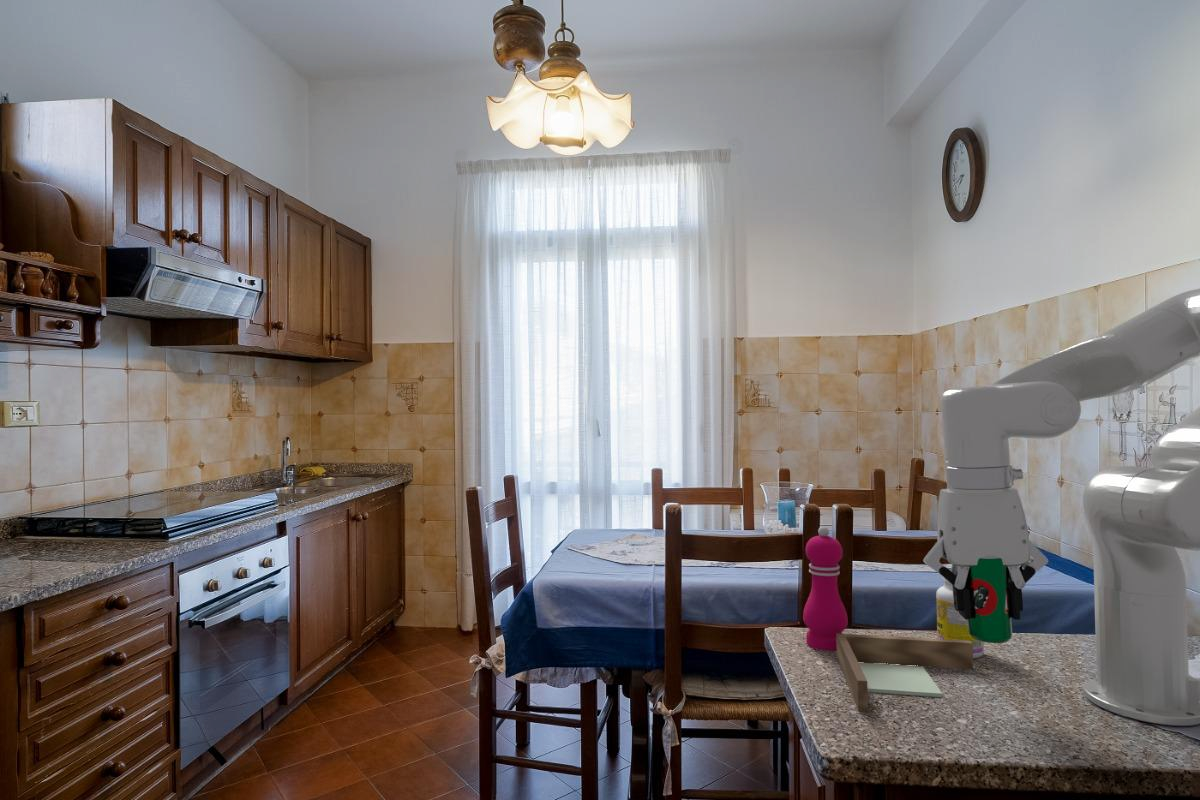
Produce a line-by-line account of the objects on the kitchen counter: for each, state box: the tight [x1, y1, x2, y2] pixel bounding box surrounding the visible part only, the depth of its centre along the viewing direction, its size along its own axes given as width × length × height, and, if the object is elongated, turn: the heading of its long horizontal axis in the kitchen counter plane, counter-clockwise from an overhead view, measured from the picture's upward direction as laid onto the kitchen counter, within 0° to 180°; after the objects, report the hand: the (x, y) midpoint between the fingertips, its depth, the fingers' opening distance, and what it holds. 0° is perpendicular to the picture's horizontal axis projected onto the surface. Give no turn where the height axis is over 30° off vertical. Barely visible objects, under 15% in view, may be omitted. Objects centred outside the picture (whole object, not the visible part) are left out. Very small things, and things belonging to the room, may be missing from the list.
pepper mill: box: [802, 526, 849, 652], centre depth 112 cm, size 7×7×20 cm
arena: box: [836, 633, 974, 713], centre depth 94 cm, size 20×19×4 cm
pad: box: [859, 663, 944, 698], centre depth 96 cm, size 10×10×1 cm
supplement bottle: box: [935, 575, 985, 659], centre depth 108 cm, size 7×7×13 cm
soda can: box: [965, 555, 1013, 644], centre depth 87 cm, size 5×5×12 cm
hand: (988, 615), depth 87 cm, fingers closed on soda can, 5 cm apart
